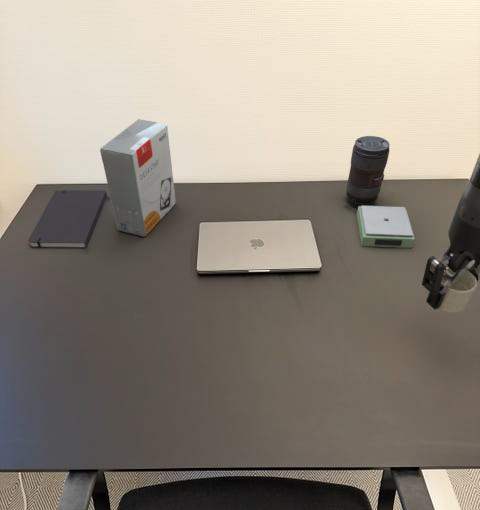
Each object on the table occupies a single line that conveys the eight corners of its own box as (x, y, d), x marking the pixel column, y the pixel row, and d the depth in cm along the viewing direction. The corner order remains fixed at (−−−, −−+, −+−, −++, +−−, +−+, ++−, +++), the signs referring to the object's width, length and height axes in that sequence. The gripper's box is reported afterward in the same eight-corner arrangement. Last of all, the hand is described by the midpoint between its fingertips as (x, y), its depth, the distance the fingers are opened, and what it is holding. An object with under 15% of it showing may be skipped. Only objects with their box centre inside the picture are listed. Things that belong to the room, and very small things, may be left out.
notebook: (86, 248, 104) (107, 195, 118) (84, 242, 102) (105, 190, 117) (29, 247, 104) (57, 195, 118) (27, 242, 103) (55, 190, 117)
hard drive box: (146, 238, 106) (130, 155, 91) (116, 231, 108) (96, 148, 93) (177, 202, 116) (167, 122, 101) (150, 196, 118) (136, 117, 103)
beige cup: (461, 290, 79) (471, 267, 75) (470, 315, 75) (482, 293, 71) (425, 288, 80) (433, 266, 76) (432, 314, 75) (441, 291, 72)
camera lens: (373, 191, 118) (386, 134, 107) (380, 210, 113) (395, 151, 102) (341, 192, 118) (351, 134, 107) (347, 210, 113) (358, 151, 102)
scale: (403, 216, 111) (406, 205, 109) (412, 248, 102) (416, 237, 100) (356, 214, 112) (358, 203, 109) (361, 246, 103) (364, 235, 101)
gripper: (466, 241, 60) (429, 328, 72) (546, 212, 64) (499, 299, 77) (426, 211, 65) (398, 298, 77) (503, 186, 69) (465, 272, 81)
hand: (448, 298), depth 77 cm, fingers closed on beige cup, 6 cm apart
